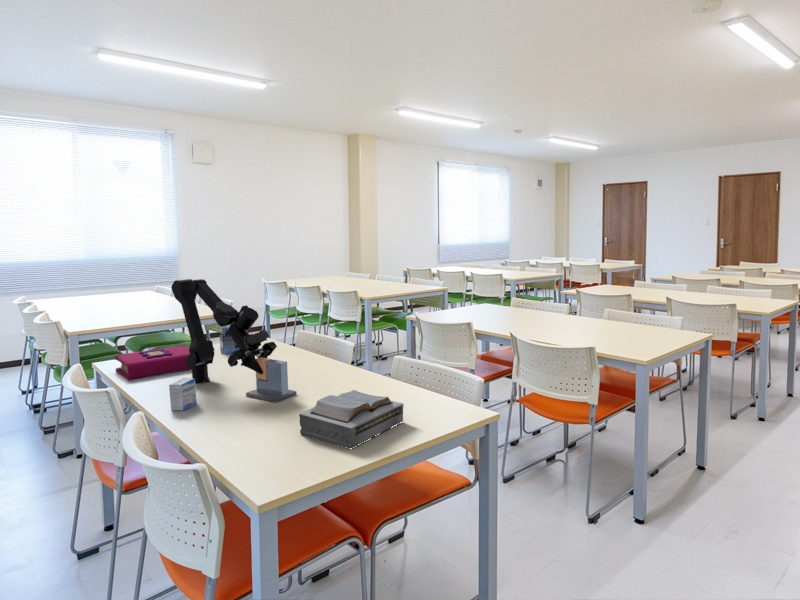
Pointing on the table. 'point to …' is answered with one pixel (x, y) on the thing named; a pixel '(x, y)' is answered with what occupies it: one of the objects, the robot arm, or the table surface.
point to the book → (153, 362)
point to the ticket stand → (273, 383)
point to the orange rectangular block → (263, 365)
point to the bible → (350, 418)
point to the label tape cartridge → (226, 343)
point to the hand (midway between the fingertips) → (265, 372)
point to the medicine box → (182, 394)
